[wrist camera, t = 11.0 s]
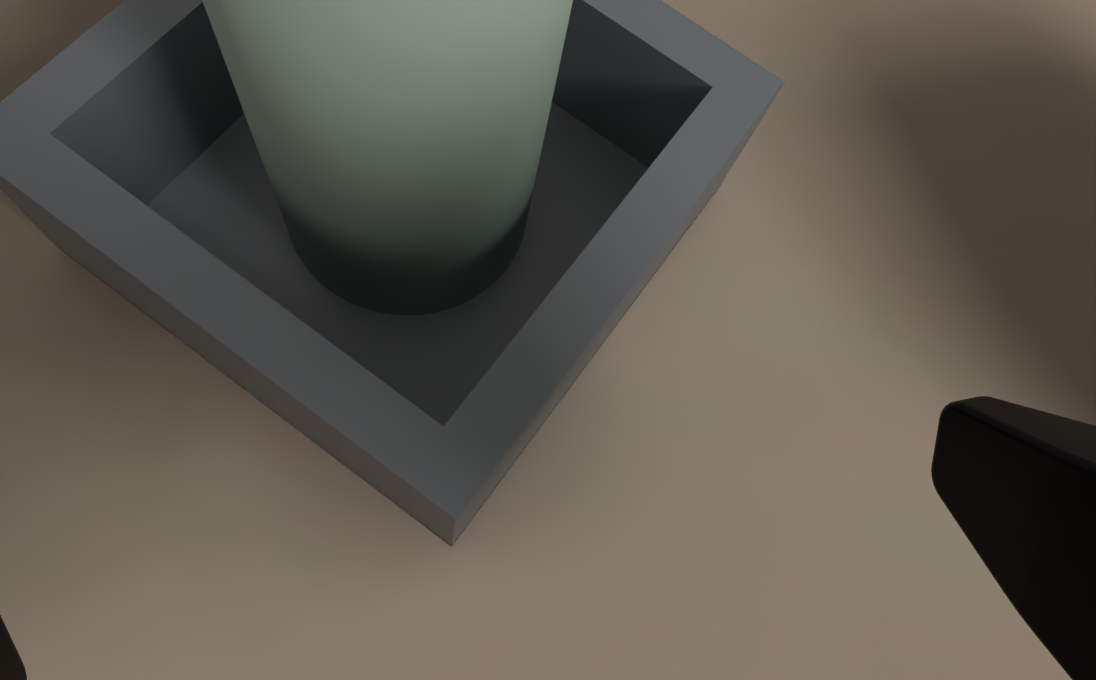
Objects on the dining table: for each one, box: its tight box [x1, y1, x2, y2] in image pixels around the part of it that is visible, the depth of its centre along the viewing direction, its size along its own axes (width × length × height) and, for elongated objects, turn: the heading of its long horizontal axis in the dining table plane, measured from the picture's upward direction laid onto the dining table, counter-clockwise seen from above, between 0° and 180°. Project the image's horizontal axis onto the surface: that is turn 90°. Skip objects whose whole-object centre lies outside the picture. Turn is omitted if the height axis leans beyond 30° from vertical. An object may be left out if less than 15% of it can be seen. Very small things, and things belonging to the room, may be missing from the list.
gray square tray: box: [0, 0, 784, 547], centre depth 17 cm, size 10×10×4 cm
